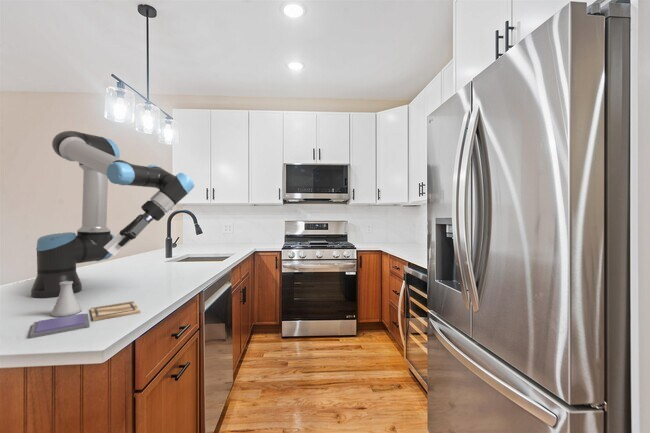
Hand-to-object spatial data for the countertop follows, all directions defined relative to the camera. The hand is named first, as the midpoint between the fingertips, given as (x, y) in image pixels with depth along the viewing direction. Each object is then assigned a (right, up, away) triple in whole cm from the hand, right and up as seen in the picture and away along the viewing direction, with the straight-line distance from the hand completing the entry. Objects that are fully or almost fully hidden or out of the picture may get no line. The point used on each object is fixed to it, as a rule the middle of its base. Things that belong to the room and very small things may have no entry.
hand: (108, 251), depth 103 cm
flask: (-9, -19, -6) cm, 22 cm away
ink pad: (-1, -19, -17) cm, 25 cm away
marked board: (+5, -19, -4) cm, 20 cm away
